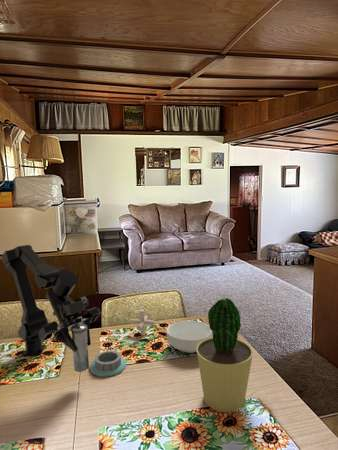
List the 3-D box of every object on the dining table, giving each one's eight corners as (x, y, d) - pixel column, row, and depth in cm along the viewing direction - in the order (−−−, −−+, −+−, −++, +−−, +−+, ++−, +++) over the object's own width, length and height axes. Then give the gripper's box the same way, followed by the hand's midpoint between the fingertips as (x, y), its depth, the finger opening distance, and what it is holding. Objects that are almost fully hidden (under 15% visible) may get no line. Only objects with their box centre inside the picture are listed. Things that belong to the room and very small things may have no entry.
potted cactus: (234, 377, 104) (235, 284, 100) (263, 409, 89) (265, 302, 85) (188, 388, 99) (187, 291, 95) (211, 423, 85) (210, 310, 81)
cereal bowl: (220, 343, 126) (220, 325, 125) (199, 364, 112) (199, 344, 111) (181, 333, 135) (180, 316, 134) (158, 351, 121) (157, 332, 120)
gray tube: (74, 364, 103) (71, 324, 101) (90, 362, 104) (87, 322, 102) (72, 373, 98) (69, 331, 97) (89, 371, 99) (86, 329, 97)
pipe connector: (151, 340, 129) (151, 316, 127) (127, 338, 131) (126, 314, 129) (157, 329, 138) (157, 306, 137) (134, 327, 140) (133, 305, 139)
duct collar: (92, 358, 117) (91, 349, 117) (126, 355, 118) (126, 347, 118) (87, 378, 105) (87, 368, 105) (125, 375, 106) (125, 365, 106)
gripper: (40, 298, 94) (63, 348, 88) (95, 282, 107) (119, 324, 101) (29, 317, 100) (50, 365, 94) (83, 300, 114) (104, 341, 108)
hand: (82, 348), depth 99 cm, fingers closed on gray tube, 4 cm apart
